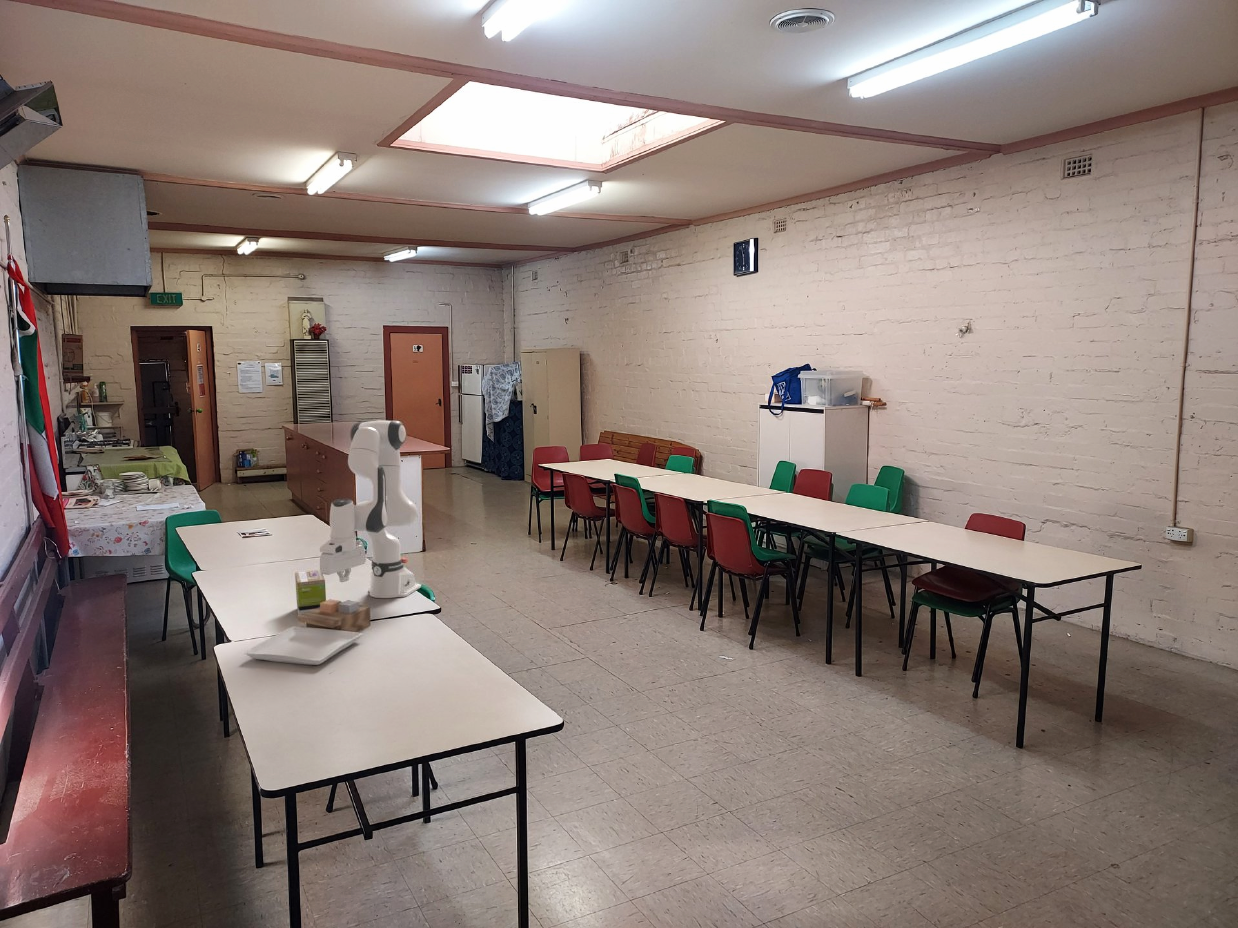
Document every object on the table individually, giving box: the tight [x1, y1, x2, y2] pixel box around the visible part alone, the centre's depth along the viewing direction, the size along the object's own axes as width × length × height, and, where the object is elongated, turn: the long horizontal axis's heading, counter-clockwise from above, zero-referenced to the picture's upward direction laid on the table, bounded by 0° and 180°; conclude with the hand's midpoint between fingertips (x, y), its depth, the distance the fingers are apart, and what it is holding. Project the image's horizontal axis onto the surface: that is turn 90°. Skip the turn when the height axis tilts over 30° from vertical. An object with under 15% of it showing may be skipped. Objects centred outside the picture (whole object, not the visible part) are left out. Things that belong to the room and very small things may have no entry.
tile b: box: [338, 599, 360, 614], centre depth 291 cm, size 5×5×3 cm
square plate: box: [244, 626, 363, 666], centre depth 271 cm, size 27×27×4 cm
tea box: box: [294, 569, 327, 616], centre depth 310 cm, size 15×10×15 cm, turn 25°
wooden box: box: [296, 601, 371, 633], centre depth 291 cm, size 19×16×7 cm
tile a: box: [320, 598, 342, 613], centre depth 292 cm, size 5×5×3 cm
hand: (344, 581), depth 297 cm, fingers closed
